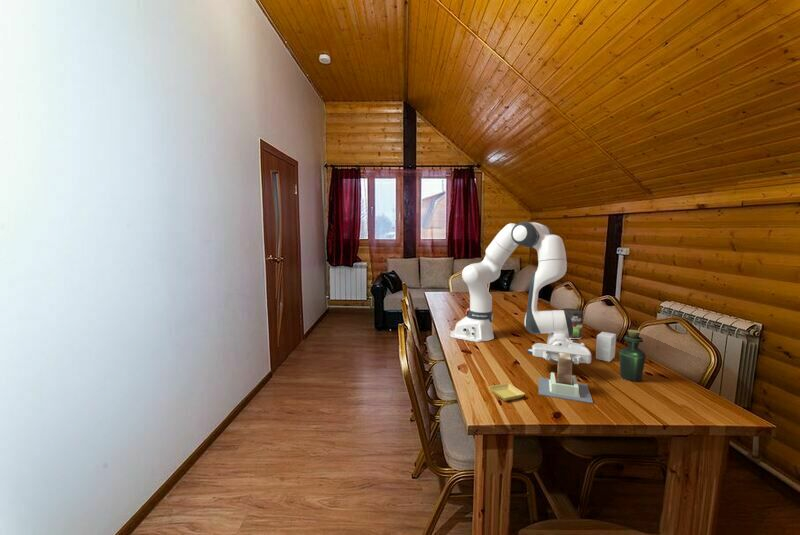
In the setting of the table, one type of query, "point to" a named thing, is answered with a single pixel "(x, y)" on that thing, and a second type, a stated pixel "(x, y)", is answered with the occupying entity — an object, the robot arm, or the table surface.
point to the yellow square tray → (506, 391)
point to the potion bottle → (632, 357)
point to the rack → (564, 387)
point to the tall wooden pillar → (564, 368)
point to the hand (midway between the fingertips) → (561, 360)
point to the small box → (605, 346)
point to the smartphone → (541, 357)
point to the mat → (545, 391)
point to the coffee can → (575, 322)
